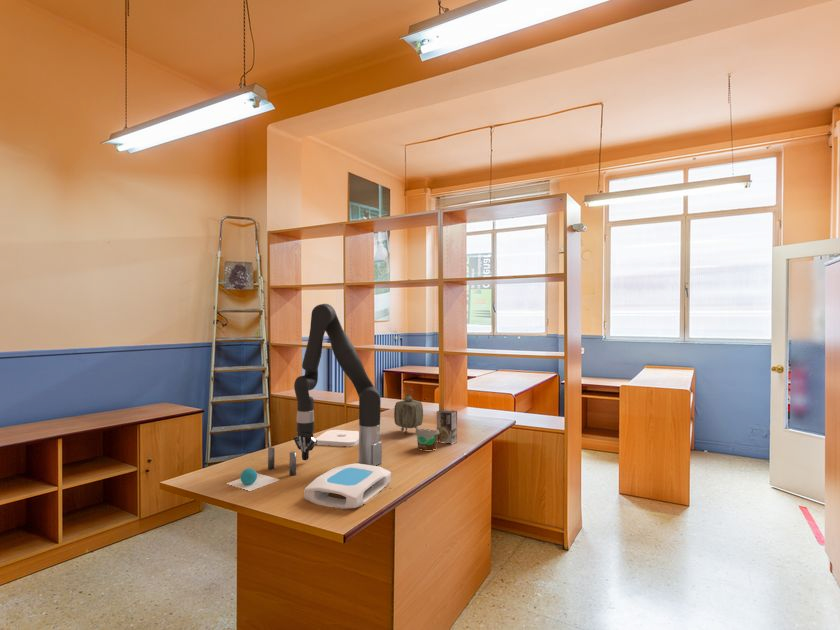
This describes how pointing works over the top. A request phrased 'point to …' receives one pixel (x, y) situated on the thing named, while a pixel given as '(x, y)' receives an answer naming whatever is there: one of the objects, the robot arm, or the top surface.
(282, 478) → the top surface
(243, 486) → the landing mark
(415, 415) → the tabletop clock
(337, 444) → the computer
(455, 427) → the coffee box
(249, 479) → the ball
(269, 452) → the post
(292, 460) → the post
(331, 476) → the step platform
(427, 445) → the food container
